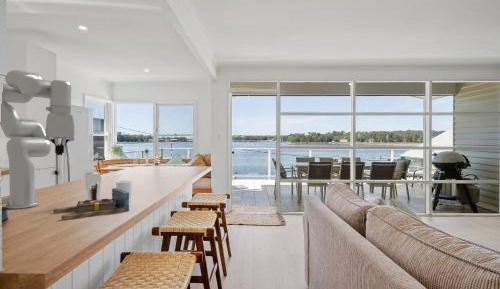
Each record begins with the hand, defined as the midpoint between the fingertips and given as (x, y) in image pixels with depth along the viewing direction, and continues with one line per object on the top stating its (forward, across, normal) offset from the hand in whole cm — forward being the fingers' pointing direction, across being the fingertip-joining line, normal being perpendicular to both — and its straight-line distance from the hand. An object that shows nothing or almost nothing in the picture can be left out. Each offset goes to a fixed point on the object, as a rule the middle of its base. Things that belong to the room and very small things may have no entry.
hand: (59, 154), depth 139 cm
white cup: (+25, +30, +8) cm, 40 cm away
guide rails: (+24, +11, -7) cm, 27 cm away
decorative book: (+25, +14, -6) cm, 29 cm away
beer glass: (+25, +16, +10) cm, 31 cm away
